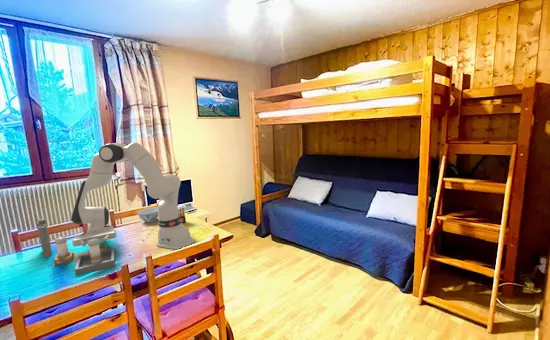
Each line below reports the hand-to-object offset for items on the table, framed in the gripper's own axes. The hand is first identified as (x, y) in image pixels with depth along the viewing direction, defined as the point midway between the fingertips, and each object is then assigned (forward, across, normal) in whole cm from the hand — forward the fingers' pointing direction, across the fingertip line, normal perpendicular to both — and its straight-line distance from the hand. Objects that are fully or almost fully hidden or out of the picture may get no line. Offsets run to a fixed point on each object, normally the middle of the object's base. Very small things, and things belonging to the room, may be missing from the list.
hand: (94, 242), depth 147 cm
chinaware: (-48, +31, +10) cm, 58 cm away
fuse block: (-7, -7, +9) cm, 14 cm away
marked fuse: (+7, 0, +8) cm, 11 cm away
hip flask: (-26, -25, +10) cm, 37 cm away
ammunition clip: (-28, +47, +9) cm, 55 cm away
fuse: (-7, -15, +8) cm, 18 cm away
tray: (+7, 0, +9) cm, 12 cm away
